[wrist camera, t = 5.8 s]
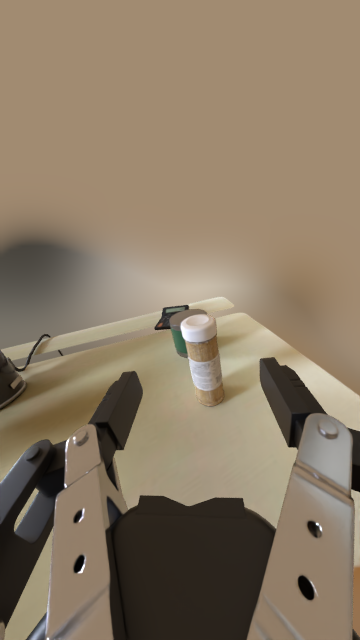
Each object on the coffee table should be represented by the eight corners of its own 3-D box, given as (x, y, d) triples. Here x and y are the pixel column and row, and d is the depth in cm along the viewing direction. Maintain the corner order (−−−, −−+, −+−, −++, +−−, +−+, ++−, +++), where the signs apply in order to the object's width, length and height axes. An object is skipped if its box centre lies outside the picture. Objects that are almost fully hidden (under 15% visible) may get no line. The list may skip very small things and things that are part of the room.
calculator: (155, 330, 53) (152, 321, 52) (165, 314, 63) (163, 307, 62) (184, 327, 50) (182, 318, 49) (189, 312, 61) (188, 304, 59)
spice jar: (207, 380, 30) (195, 311, 25) (230, 392, 27) (222, 315, 21) (190, 397, 27) (172, 324, 22) (213, 413, 24) (199, 332, 19)
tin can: (169, 349, 41) (161, 320, 38) (194, 334, 46) (188, 306, 42) (193, 363, 35) (186, 329, 32) (219, 344, 39) (215, 312, 36)
